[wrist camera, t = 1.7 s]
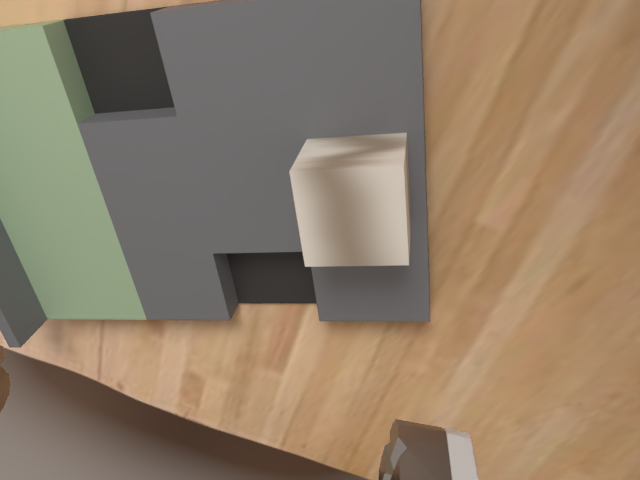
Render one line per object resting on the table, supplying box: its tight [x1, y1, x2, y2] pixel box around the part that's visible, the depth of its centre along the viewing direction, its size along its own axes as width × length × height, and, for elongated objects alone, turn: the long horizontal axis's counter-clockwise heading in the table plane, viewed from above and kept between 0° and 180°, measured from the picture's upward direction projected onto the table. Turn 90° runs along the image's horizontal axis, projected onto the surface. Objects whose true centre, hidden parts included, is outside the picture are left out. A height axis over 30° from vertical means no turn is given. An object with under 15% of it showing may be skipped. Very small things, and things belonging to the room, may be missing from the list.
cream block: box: [289, 133, 411, 267], centre depth 31 cm, size 6×6×5 cm
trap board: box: [0, 0, 430, 348], centre depth 36 cm, size 32×22×6 cm
